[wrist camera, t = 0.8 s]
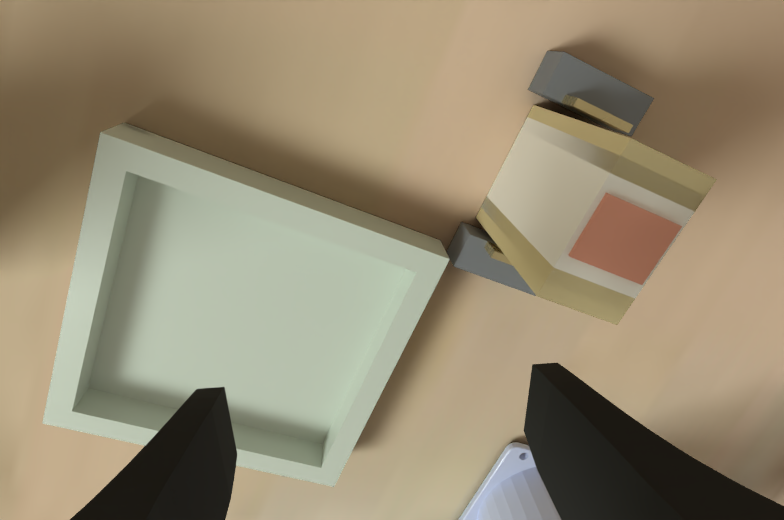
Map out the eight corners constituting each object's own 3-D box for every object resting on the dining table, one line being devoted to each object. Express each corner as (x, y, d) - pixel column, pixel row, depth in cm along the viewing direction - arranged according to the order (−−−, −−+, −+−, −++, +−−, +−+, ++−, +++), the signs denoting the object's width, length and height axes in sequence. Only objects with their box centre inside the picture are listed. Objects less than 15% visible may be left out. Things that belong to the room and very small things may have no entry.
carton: (595, 134, 20) (720, 180, 13) (535, 240, 22) (619, 327, 15) (533, 104, 19) (634, 139, 13) (475, 217, 21) (538, 298, 14)
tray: (440, 240, 21) (449, 259, 19) (334, 455, 26) (333, 486, 24) (124, 122, 18) (100, 132, 16) (66, 391, 22) (42, 423, 21)
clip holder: (631, 94, 19) (670, 101, 17) (523, 280, 22) (544, 307, 20) (547, 50, 18) (577, 52, 16) (446, 252, 21) (459, 277, 19)
